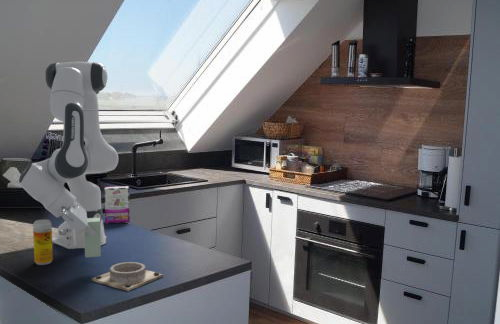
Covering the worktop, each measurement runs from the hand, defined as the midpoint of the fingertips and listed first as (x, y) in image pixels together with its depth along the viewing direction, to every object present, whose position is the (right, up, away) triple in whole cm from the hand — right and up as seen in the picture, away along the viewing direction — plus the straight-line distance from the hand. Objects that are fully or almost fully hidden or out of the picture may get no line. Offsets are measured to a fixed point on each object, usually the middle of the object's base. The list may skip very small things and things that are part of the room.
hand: (94, 231), depth 181 cm
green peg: (-1, -8, +1) cm, 8 cm away
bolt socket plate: (+12, -15, -4) cm, 20 cm away
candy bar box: (-9, -5, +70) cm, 71 cm away
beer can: (-21, -12, +11) cm, 27 cm away
